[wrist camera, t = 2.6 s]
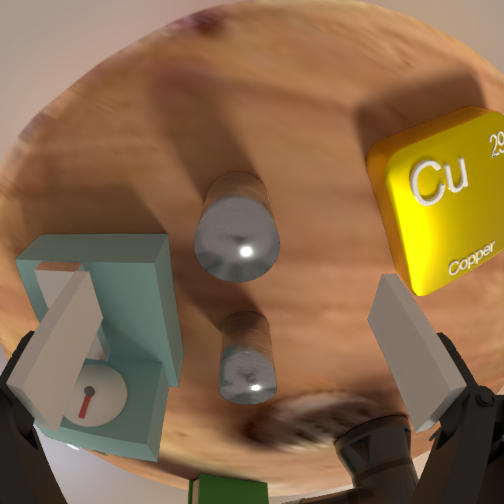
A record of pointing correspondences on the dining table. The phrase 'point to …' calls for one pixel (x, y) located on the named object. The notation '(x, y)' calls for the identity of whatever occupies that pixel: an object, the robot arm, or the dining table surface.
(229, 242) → the cylinder
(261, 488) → the hardback book
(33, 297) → the scale body
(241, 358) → the cylinder
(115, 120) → the dining table surface
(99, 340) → the platform
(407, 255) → the element tile
